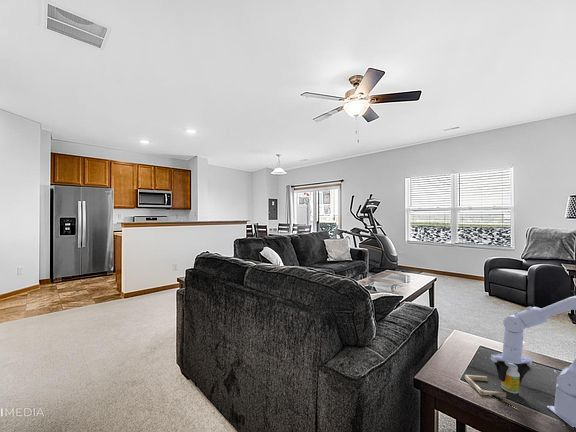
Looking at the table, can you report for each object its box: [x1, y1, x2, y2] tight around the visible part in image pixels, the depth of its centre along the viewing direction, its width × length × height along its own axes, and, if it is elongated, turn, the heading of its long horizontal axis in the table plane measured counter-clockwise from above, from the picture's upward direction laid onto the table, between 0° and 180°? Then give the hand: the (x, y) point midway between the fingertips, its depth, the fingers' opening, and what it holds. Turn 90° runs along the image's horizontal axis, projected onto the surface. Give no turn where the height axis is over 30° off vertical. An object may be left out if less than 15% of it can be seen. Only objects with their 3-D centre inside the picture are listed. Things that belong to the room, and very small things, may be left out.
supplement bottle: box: [500, 362, 520, 394], centre depth 107 cm, size 5×5×10 cm
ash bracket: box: [463, 374, 507, 398], centre depth 107 cm, size 11×9×2 cm
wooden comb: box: [481, 388, 518, 408], centre depth 101 cm, size 14×1×2 cm, turn 29°
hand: (509, 380), depth 107 cm, fingers open, 6 cm apart
